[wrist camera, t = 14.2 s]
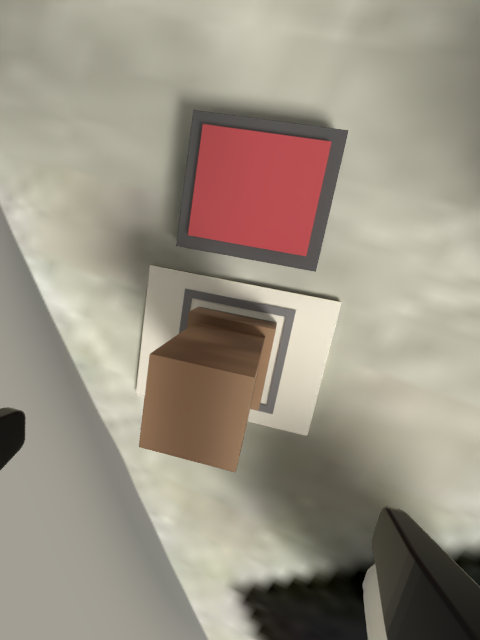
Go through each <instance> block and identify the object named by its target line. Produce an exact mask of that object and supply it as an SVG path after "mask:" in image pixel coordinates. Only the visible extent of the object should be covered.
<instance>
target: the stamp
mask: <svg viewBox="0 0 480 640" xmlns="http://www.w3.org/2000/svg"><path fill="white" fill-rule="evenodd" d="M276 325H277V322H273V321H268V320H263V319H258V318H253V317H248V316H243V315H238V314H234V313H229V312H224V311H219V310H214V309H209V308H204V307H197V308H195V309H193V310H191V311H189V316H188V323H187V329H185V330H184V331H182V332H181V333H179V334H178V335H176V336H175V337H173V338H172V339H171V340H169V341H168V342H166V343H165V344H163V345H162V346H160V347H159V348H157V349H156V350H155V351H153V352H152V353H150V355H149V364H148V372H147V381H146V390H145V398H144V407H143V416H142V424H141V433H140V442H139V447H141V448H145V449H149V450H153V451H156V452H160V453H164V454H168V455H172V456H175V457H179V458H183V459H187V460H191V461H194V462H198V463H202V464H206V465H210V466H213V467H217V468H221V469H225V470H229V471H232V472H236V468H237V464H238V460H239V455H240V451H241V447H242V442H243V438H244V434H245V429H246V425H247V421H248V416H249V412H250V409H253V410H257V411H259V407H260V403H261V398H262V393H263V388H264V384H265V379H266V374H267V369H268V365H269V360H270V355H271V351H272V346H273V341H274V336H275V332H276Z"/></svg>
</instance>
